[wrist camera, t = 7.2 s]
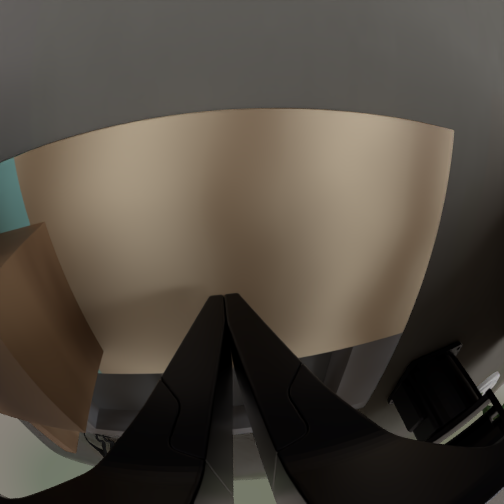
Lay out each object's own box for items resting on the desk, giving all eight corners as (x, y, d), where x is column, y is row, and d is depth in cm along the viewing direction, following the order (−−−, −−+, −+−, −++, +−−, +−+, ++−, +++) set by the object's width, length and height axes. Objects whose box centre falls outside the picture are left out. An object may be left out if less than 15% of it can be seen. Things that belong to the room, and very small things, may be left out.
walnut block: (44, 221, 7) (-24, 298, 4) (103, 351, 10) (85, 432, 7) (-43, 246, 6) (-92, 302, 3) (13, 348, 9) (-12, 408, 6)
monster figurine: (506, 362, 32) (530, 397, 23) (478, 396, 38) (498, 429, 29) (472, 387, 31) (497, 430, 22) (443, 420, 37) (462, 457, 28)
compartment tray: (421, 122, 9) (493, 143, 6) (355, 386, 18) (374, 428, 15) (-48, 186, 7) (-98, 221, 3) (73, 409, 16) (65, 451, 12)
